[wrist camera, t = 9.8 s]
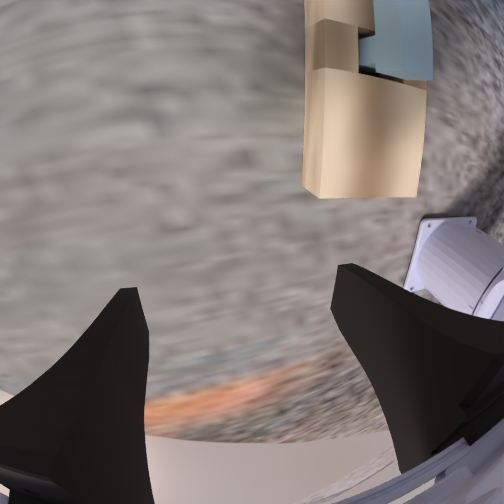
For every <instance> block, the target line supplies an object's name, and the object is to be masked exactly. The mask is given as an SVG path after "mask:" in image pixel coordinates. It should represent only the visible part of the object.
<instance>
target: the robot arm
mask: <svg viewBox="0 0 504 504" xmlns="http://www.w3.org/2000/svg"><path fill="white" fill-rule="evenodd" d="M476 223H477V218H476V217H450V218H429V219H423V220H422V221H421V223H420V227H419V232H418V236H417V240H416V244H415V248H414V252H413V256H412V260H411V263H410V267H409V270H408V274H407V277H406V281H405V284H404V287H403V288H402V287H400V286H398V285H396V284H394V283H392V282H390V281H388V280H386V279H384V278H382V277H380V276H379V275H377V274H375V273H373V272H371V271H369V270H367V269H365V268H363V267H360V266H358V265H356V264H353V263H350V264H342V265H338V269H337V275H336V281H335V287H334V292H333V298H332V303H331V308H330V309H331V311H332V314H333V316H334V318H335V321H336V323H337V325H338V327H339V330H340V331H341V333H342V335H343V336H344V338H345V340H346V341H347V343H348V345H349V346H350V348H351V349H352V351H353V353H354V354H355V356H356V357H357V359H358V361H359V362H360V364H361V366H362V367H363V369H364V371H365V372H366V374H367V376H368V378H369V380H370V382H371V384H372V386H373V388H374V391H375V393H376V395H377V397H378V400H379V402H380V405H381V407H382V410H383V413H384V415H385V418H386V421H387V424H388V427H389V430H390V433H391V436H392V440H393V444H394V448H395V452H396V456H397V460H398V465H399V470H400V472H401V474H402V475H400V476H398V477H396V478H394V479H392V480H389V481H388V482H385V483H383V484H381V485H379V486H376V487H374V488H372V489H370V490H367V491H365V492H362V493H360V494H357V495H355V496H352V497H350V498H347V499H344V500H342V501H339V502H336V503H333V504H388V503H390V502H392V501H394V500H396V499H398V498H400V497H402V496H404V495H405V494H407V493H409V492H411V491H413V490H414V489H416V488H418V487H420V486H421V485H423V484H425V483H426V482H428V481H430V480H431V479H433V478H435V477H436V476H437V477H436V479H435V484H434V485H433V486H432V487H430V488H429V489H427V490H426V491H424V492H422V493H420V494H419V495H417V496H416V497H414V498H412V499H411V500H409V501H407V502H405V503H404V504H504V245H503V244H501V243H500V242H498V241H497V240H495V239H494V238H492V237H491V236H489V235H488V234H486V233H485V232H483V231H482V230H480V229H478V228H477V227H476ZM425 288H426V289H427V290H428V291H429V292H430V293H431V294H433V295H434V296H435V297H436V298H437V299H438V300H439V301H440V302H441V303H442V304H443V305H444V306H442V305H439V304H437V303H434V302H432V301H429V300H427V299H425V298H423V297H420V296H418V295H416V294H414V293H412V292H413V291H417V290H421V289H425ZM148 363H149V330H148V327H147V323H146V320H145V316H144V313H143V309H142V305H141V302H140V298H139V294H138V290H137V287H133V288H121V289H119V291H118V292H117V293H116V294H115V295H114V297H113V298H112V299H111V300H110V302H109V303H108V304H107V305H106V307H105V308H104V309H103V310H102V312H101V313H100V314H99V315H98V317H97V318H96V319H95V320H94V322H93V323H92V324H91V325H90V326H89V328H88V329H87V330H86V331H85V332H84V333H83V334H82V336H81V337H80V338H79V339H78V340H77V341H76V343H75V344H74V345H73V346H72V347H71V348H70V349H69V350H68V351H67V352H66V353H65V354H64V355H63V356H62V357H61V358H60V359H59V360H58V361H57V362H56V363H55V364H54V365H53V366H52V367H51V368H50V369H48V370H47V371H46V372H45V373H44V374H42V375H41V376H40V377H39V378H38V379H37V380H35V381H34V382H33V383H32V384H31V385H29V386H28V387H27V388H25V389H24V390H23V391H21V392H20V393H19V394H17V395H16V396H14V397H13V398H11V399H10V400H8V401H7V402H5V403H4V404H2V405H0V484H2V485H3V486H5V487H7V488H8V489H10V492H9V497H8V496H6V495H4V494H2V493H0V504H155V503H154V499H153V494H152V489H151V483H150V477H149V471H148V463H147V455H146V444H145V430H144V406H145V394H146V383H147V373H148Z"/></svg>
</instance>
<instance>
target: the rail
mask: <svg viewBox="0 0 504 504" xmlns="http://www.w3.org/2000/svg"><path fill="white" fill-rule="evenodd" d="M304 9H305V118H304V148H303V171H302V186H303V187H305V188H306V189H307V190H309V191H310V192H311V193H313V194H314V195H315V196H317V197H318V198H319V199H323V198H359V197H416V194H417V188H418V181H419V175H420V168H421V160H422V152H423V142H424V132H425V118H426V100H427V81H419V80H404V79H401V78H397V77H393V76H390V75H386V74H382V73H378V77H374V76H369V75H365V74H360V73H359V55H358V40H359V39H363V38H367V37H371V36H375V20H374V5H373V0H304Z"/></svg>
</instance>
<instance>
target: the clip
mask: <svg viewBox="0 0 504 504" xmlns="http://www.w3.org/2000/svg"><path fill="white" fill-rule="evenodd" d="M373 5H374V20H375V36H371V37H367V38H363V39H359V40H358V55H359V71H364V72H369V73H382V74H386V75H390V76H393V77H397V78H401V79H404V80H419V81H433V41H432V27H431V16H430V7H429V0H373Z"/></svg>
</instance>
